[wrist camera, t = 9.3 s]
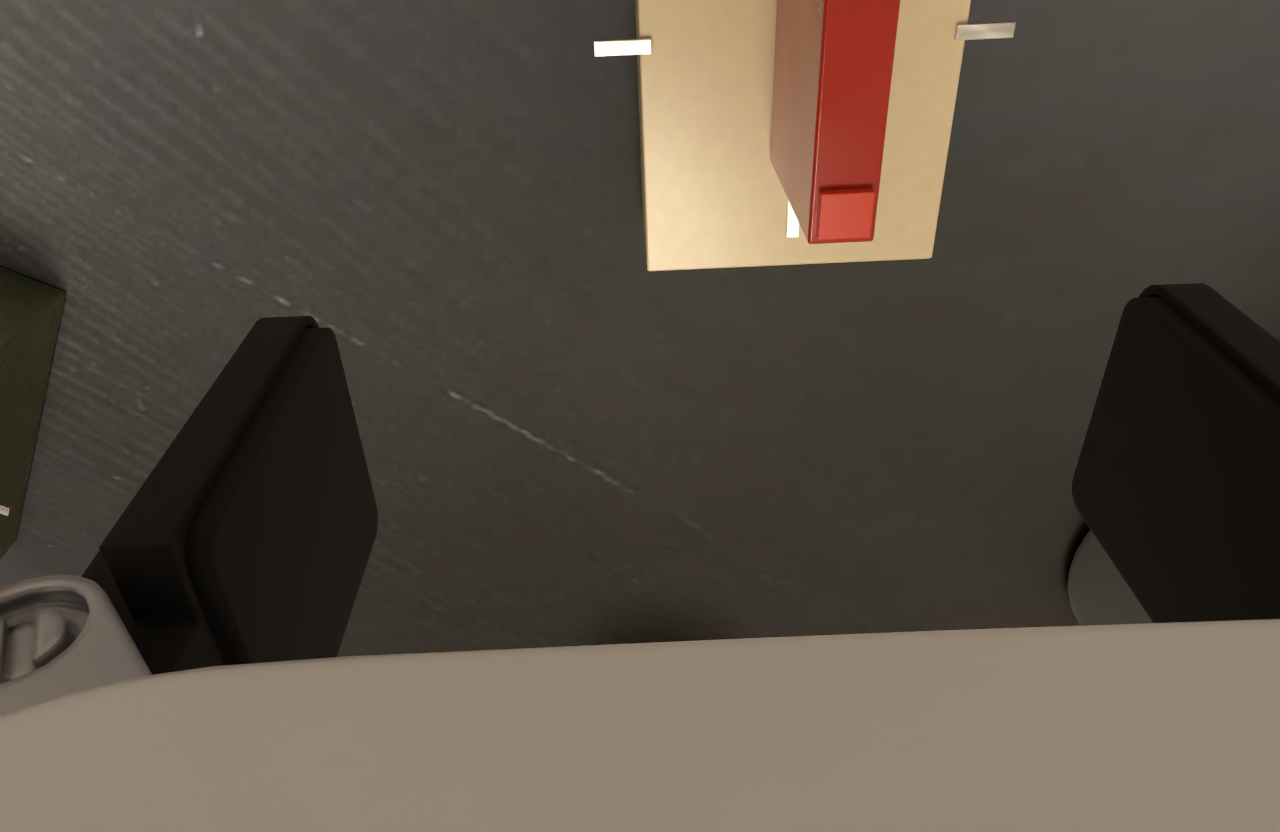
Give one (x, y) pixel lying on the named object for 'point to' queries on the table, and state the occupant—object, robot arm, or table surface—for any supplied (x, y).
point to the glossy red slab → (832, 112)
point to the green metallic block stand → (22, 384)
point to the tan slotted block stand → (742, 123)
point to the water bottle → (1100, 589)
